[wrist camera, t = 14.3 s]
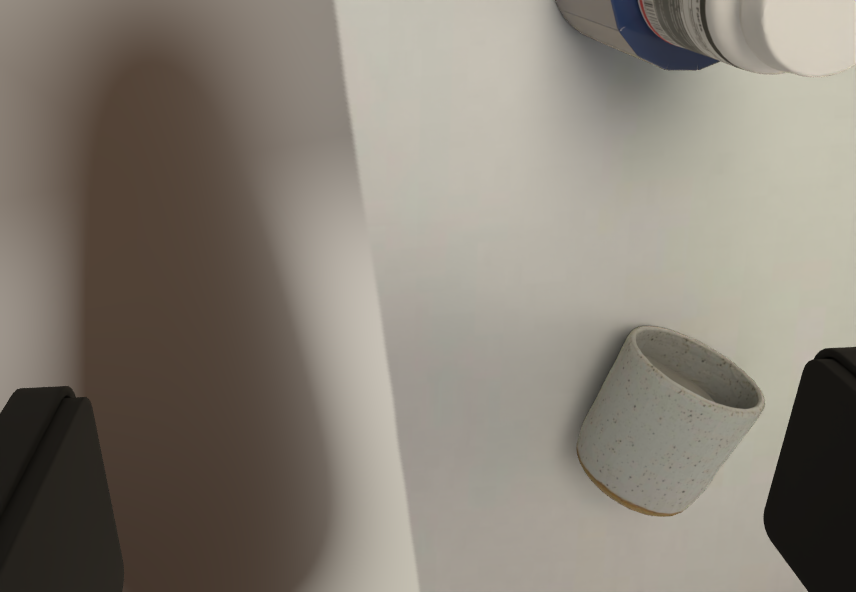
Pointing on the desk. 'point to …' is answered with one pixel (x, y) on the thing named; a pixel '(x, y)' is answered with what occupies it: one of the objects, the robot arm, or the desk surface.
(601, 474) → the ceramic mug
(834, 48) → the pill bottle
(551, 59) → the desk surface
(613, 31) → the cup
